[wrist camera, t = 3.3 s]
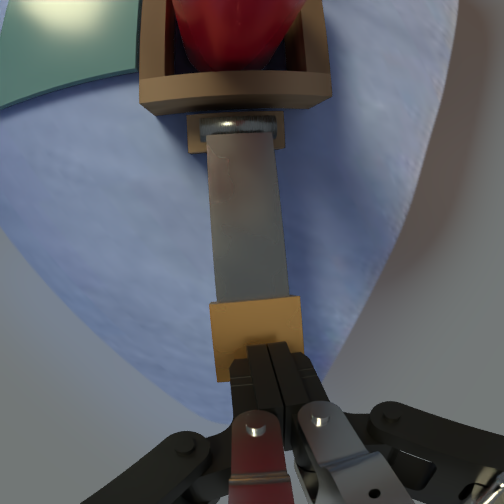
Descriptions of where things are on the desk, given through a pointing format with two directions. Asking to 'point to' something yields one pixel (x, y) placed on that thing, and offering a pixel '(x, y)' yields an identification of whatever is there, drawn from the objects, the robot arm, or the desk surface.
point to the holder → (232, 74)
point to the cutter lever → (247, 241)
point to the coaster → (65, 45)
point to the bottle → (233, 31)
